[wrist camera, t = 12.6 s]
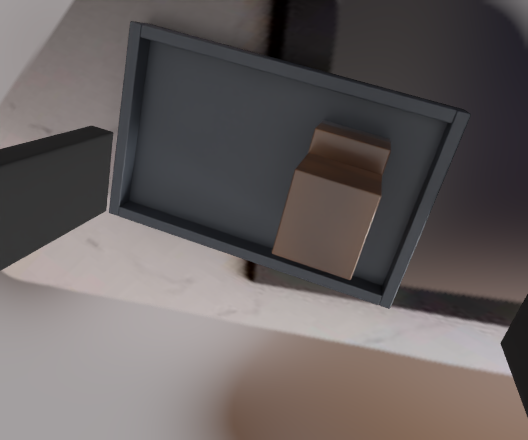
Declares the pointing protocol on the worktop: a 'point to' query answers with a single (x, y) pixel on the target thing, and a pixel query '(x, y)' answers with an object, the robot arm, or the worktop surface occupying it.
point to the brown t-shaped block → (333, 199)
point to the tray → (266, 152)
